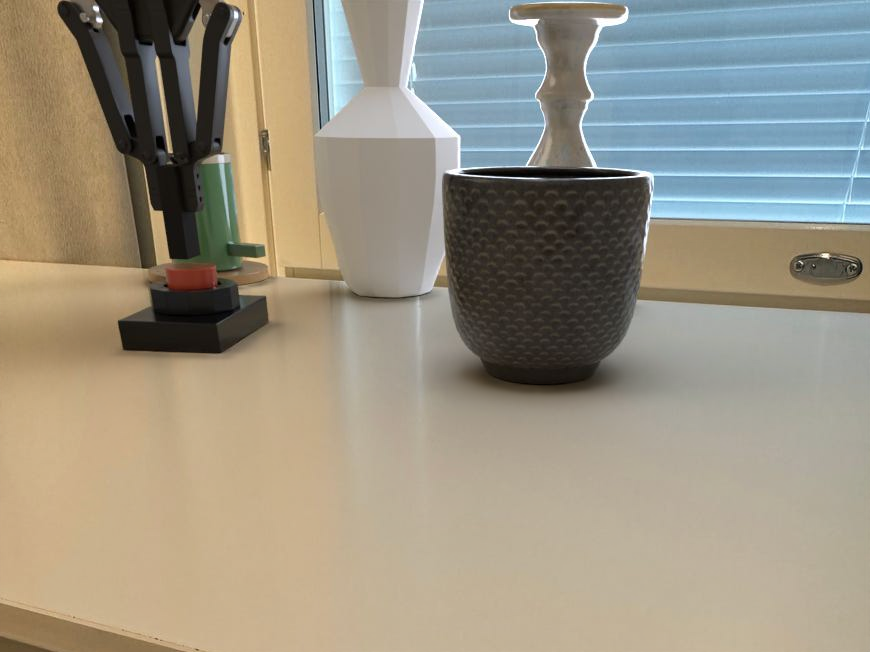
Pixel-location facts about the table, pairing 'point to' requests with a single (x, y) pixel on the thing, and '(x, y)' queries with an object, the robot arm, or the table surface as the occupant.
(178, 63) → the robot arm
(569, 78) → the candle holder
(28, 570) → the table surface
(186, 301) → the black base
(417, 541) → the table surface
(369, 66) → the vase
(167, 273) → the timer button
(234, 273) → the trivet
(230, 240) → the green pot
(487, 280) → the planter
